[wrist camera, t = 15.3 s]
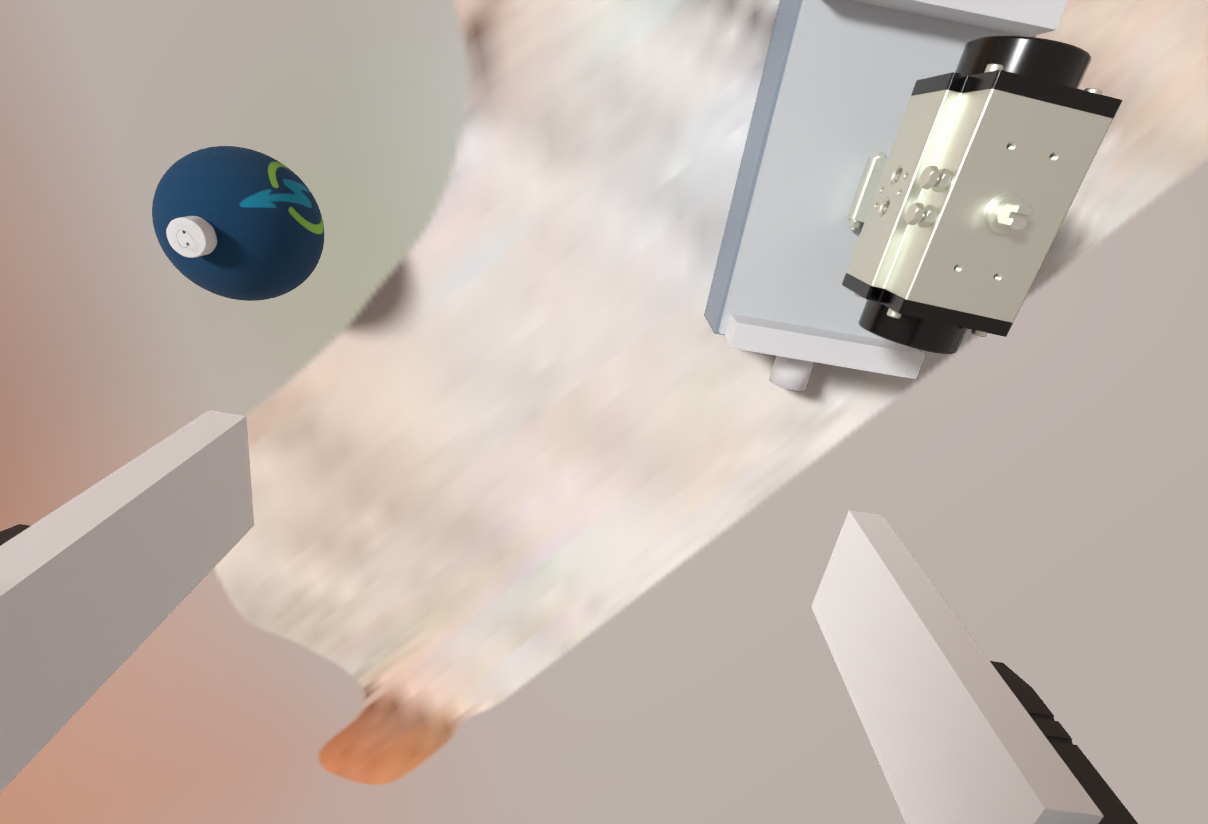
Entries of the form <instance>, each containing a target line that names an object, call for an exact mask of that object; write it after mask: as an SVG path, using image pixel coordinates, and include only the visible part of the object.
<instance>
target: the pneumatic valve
mask: <svg viewBox="0 0 1208 824" xmlns="http://www.w3.org/2000/svg"><path fill="white" fill-rule="evenodd" d="M1090 62H1091V56H1090V54H1089V53H1088V52H1086V51H1084V50H1083V49H1081V48H1078V47H1076V46H1073V45H1070V44H1066V43H1062V42H1058V41H1053V40H1048V39H1042V38H1034V37H1025V36H987V37H980V38H976V39H973V40H971V41H969V42H968V43H967V44H966V45H965V48H964V50H963V53H962V55H961V58H960V61H959V63H958V66H957V68H956V71H955V72H952V73H947V74H943V75H938V76H934V77H929V78H925V79H920V80H916V83H915V86H914V89H913V91H912V94H911V97H910V100H909V102H908V105H907V108H906V111H905V113H904V116H903V119H902V121H901V124H900V127H899V130H898V132H897V135H896V138H895V141H894V143H893V146H892V149H891V151H890V154H889V157H888V158H885V157H886V153H883V152H878V151H875V152H874V155H873V156H872V157H868V160H867V163H866V165H865V168H864V171H863V174H862V177H861V180H860V182H859V185H858V188H857V191H856V194H855V196H854V199H853V202H852V205H851V208H850V211H849V213H848V216H847V218H850V219H849V220H850V222H849V225H848V226H851V227H850V229H852V230H856V229H857V228H860V225H861V223H863V222H864V225H863V228H862V231H861V233H860V236H859V239H858V242H857V244H856V247H855V250H854V252H853V255H852V258H851V261H850V263H849V266H848V269H847V272H846V274H845V277H844V280H843V283H842V285H843V286H844V287H846V288H848V289H849V290H851V291H853V292H854V295H855V296H858V297H861V298H865V299H867V301H866V304H865V306H864V309H863V311H862V314H861V316H860V319H859V322H858V323H859V325H860V326H861V327H862V328H863V329H865V330H867V331H868V332H870V333H872V334H875V335H877V336H879V337H882V338H884V339H887V340H890V341H893V342H896V343H899V344H902V345H905V346H909V347H912V348H916V349H920V350H924V351H929V352H934V353H941V354H953V353H955V352H956V351H957V350H958V347H959V345H960V343H961V341H962V339H963V337H964V334H965V332H966V330H967V328H968V329H973V330H972V334H975V335H977V336H981V337H985V336H986V334H987V333H992V334H996V335H1000V336H1007V334H1008V332H1009V330H1010V328H1011V326H1012V324H1013V322H1014V319H1015V317H1016V316H1017V313H1018V311H1019V309H1020V307H1021V305H1022V303H1023V301H1024V299H1025V297H1026V295H1027V293H1028V291H1029V289H1030V287H1031V285H1032V283H1033V281H1034V279H1035V277H1036V275H1037V273H1038V271H1039V269H1040V267H1041V265H1042V263H1043V261H1044V259H1045V257H1046V255H1047V253H1048V250H1049V248H1050V246H1051V244H1052V242H1053V240H1054V238H1055V236H1056V234H1057V232H1058V230H1059V228H1060V226H1061V224H1062V222H1063V220H1064V218H1065V216H1066V214H1067V212H1068V210H1069V208H1070V206H1071V204H1072V202H1073V200H1074V198H1075V196H1076V194H1077V192H1078V189H1079V187H1080V185H1081V183H1082V181H1083V179H1084V177H1085V175H1086V173H1087V171H1088V169H1089V167H1090V165H1091V163H1092V161H1093V159H1094V157H1095V155H1096V153H1097V151H1098V149H1099V147H1100V145H1101V143H1102V141H1103V139H1104V137H1105V135H1106V133H1107V131H1108V128H1109V126H1110V124H1111V122H1112V120H1113V118H1114V116H1115V114H1116V112H1117V110H1118V108H1119V106H1120V104H1121V102H1122V100H1120V99H1116V98H1112V97H1108V96H1104V95H1101V93H1102V90H1099V89H1094V88H1087V89H1085V90H1080V89H1078V88H1079V86H1080V84H1081V82H1082V79H1083V77H1084V75H1085V73H1086V71H1087V69H1088V66H1089V64H1090ZM852 206H853V207H852Z"/></svg>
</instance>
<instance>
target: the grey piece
mask: <svg viewBox="0 0 1208 824" xmlns="http://www.w3.org/2000/svg"><path fill="white" fill-rule="evenodd" d="M1067 2H1068V0H780V4H779V8H778V12H777V16H776V20H775V25H774V29H773V33H772V37H771V41H770V45H769V49H768V54H767V58H766V62H765V66H764V70H763V74H762V78H761V83H760V87H759V91H758V95H757V99H756V103H755V107H754V112H753V116H752V120H751V124H750V128H749V132H748V136H747V141H746V145H745V149H744V153H743V157H742V161H741V165H740V169H739V174H738V178H737V182H736V186H735V190H734V194H733V198H732V203H731V207H730V211H729V215H728V219H727V223H726V227H725V232H724V236H723V240H722V244H721V248H720V252H719V256H718V261H717V265H716V269H715V273H714V277H713V281H712V285H711V290H710V294H709V298H708V302H707V306H706V310H705V314H704V316H705V317H706V319H707V321H708V323H709V325H710V326H711V328H712V330H713V332H714V334H720V335H725V336H724V338H725V340H726V342H727V343H728V345H729V347H730V348H734V349H740V350H746V351H752V352H758V353H763V354H769V355H775V356H776V358H775V362H774V365H773V368H772V372H771V375H770V378H769V380H770V381H771V382H772V383H773V384H775V385H777V386H779V387H782V388H785V389H789V390H795V391H803V390H805V389H806V386H807V383H808V380H809V377H810V374H811V371H812V368H813V365H814V362H817V363H822V364H828V365H834V366H840V367H846V368H852V369H858V370H864V371H870V372H876V373H882V374H887V375H893V376H899V377H905V378H911V379H916V378H917V375H918V373H919V371H920V368H921V366H922V363H923V361H924V358H925V356H926V355H925V354H924V353H922V352H921V351H919V350H918V349H916V348H912V347H909V346H905V345H902V344H899V343H896V342H893V341H890V340H887V339H884V338H882V337H879V336H877V335H875V334H872V333H870V332H868V331H867V330H865V329H863V328H862V327H861V326H860V325H859V323H858V322H859V319H860V316H861V314H862V311H863V309H864V306H865V304H866V301H867V299H865V298H861V297H858V296H855V295H854V292H853V291H851V290H849V289H848V288H846V287H844V286H843V285H842V283H843V280H844V277H845V274H846V272H847V269H848V266H849V263H850V261H851V258H852V255H853V252H854V250H855V247H856V244H857V242H858V239H859V236H860V233H861V231H862V228H863V225H864V222H863V223H861V225H860V228H857V229H856V230H852V229H850V227H851V226H848V225H849V222H850V220H849V219H850V218H847V216H848V213H849V211H850V208H851V205H852V202H853V199H854V196H855V194H856V191H857V188H858V185H859V182H860V180H861V177H862V174H863V171H864V168H865V165H866V163H867V160H868V157H872V156H873V155H874V152H875V151H878V152H883V153H886V157H885V158H888V157H889V154H890V151H891V149H892V146H893V143H894V141H895V138H896V135H897V132H898V130H899V127H900V124H901V121H902V119H903V116H904V113H905V111H906V108H907V105H908V102H909V100H910V97H911V94H912V91H913V89H914V86H915V83H916V80H920V79H925V78H929V77H934V76H938V75H943V74H947V73H952V72H955V71H956V68H957V66H958V63H959V61H960V58H961V55H962V53H963V50H964V48H965V45H966V44H967V43H968V42H969V41H971V40H973V39H976V38H980V37H987V36H1025V37H1034V38H1035V36H1036V35H1039V34H1042V33H1046V32H1050V31H1053V30H1056V29H1057V27H1058V24H1059V22H1060V19H1061V17H1062V14H1063V12H1064V9H1065V7H1066V4H1067ZM852 207H853V206H852Z"/></svg>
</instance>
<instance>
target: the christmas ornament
mask: <svg viewBox="0 0 1208 824" xmlns="http://www.w3.org/2000/svg"><path fill="white" fill-rule="evenodd" d="M152 217H153V224H154V229H155V233H156V236H157V238H158V241H159V243H160V245H161V247H162V249H163V251H164V253H165V254H166V256H167V257H168V258H169V260H170V261H171V262H172V263H173V265H174V266H175V267H176V268H177V269H178V270H179V271H180V272H181V273H182V274H183V275H184V276H186V277H187V278H188V279H189V280H191V281H192V282H194V283H195V284H197V285H198V286H200V287H202V288H204V289H206V290H208V291H210V292H212V293H215V294H217V295H220V296H224V297H227V298H232V299H237V300H249V301H251V300H264V299H270V298H274V297H277V296H280V295H283V294H285V293H287V292H289V291H291V290H293V289H294V288H296V287H298V286H299V285H300V284H301V283H303V282H304V281H305V280H306V279H307V278H308V277H309V275H310V274H311V273H312V272H313V270H314V269H315V267H316V265H317V264H318V261H319V259H320V256H321V253H322V250H323V244H324V226H323V220H322V216H321V213H320V210H319V207H318V205H317V203H316V201H315V199H314V197H313V195H312V193H311V192H310V191H309V189H308V188H307V186H306V185H305V184H304V183H303V182H302V180H301V179H300V178H299V177H298V176H297V175H295V174H294V172H292V171H291V170H290V169H289V168H287V167H286V166H285V165H283V164H282V163H280V162H278V161H277V160H275V159H273V158H271V157H269V156H267V155H265V154H263V153H260V152H257V151H254V150H250V149H246V148H240V147H233V146H218V147H210V148H205V149H201V150H198V151H196V152H192V153H190V154H188V155H186V156H185V157H183V158H182V159H180V160H178V161H177V162H176V163H174V164H173V165H172V166H171V167H170V168H169V169H168V170H167V172H166V173H165V174H164V175H163V177H162V179H161V180H160V182H159V184H158V186H157V189H156V192H155V195H154V199H153V207H152Z"/></svg>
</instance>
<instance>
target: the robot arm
mask: <svg viewBox="0 0 1208 824" xmlns="http://www.w3.org/2000/svg"><path fill="white" fill-rule="evenodd" d="M253 526H254V518H253V504H252V490H251V476H250V462H249V448H248V434H247V420H246V416H242V415H235V414H229V413H223V412H216V411H210V410H209V411H207V412H206V413H204V414H203V415H201V416H199V417H198V418H196V419H195V420H193V421H192V422H190V423H189V424H187V425H186V426H184V427H183V428H181V429H179V430H178V431H177V432H175V433H173V434H172V435H170V436H169V437H167V438H166V439H164V440H163V441H161V442H159V443H158V444H156V445H155V446H154V447H152V448H150V449H149V450H147V451H146V452H144V453H143V454H141V455H139V456H138V457H137V458H135V459H133V460H132V461H130V462H129V463H127V464H126V465H124V466H123V467H121V468H120V469H118V470H117V471H115V472H113V473H112V474H110V475H109V476H107V477H106V478H104V479H103V480H101V481H99V482H98V483H96V484H95V485H93V486H92V487H90V488H89V489H87V490H86V491H85V492H83V493H81V494H80V495H78V496H76V497H75V498H73V499H72V500H70V501H69V502H67V503H66V504H64V505H63V506H61V507H59V508H58V509H56V510H55V511H53V512H52V513H50V514H49V515H47V516H46V517H44V518H43V519H41V520H39V521H38V522H36V523H35V524H34V525H32V526H28V525H21V524H19V525H16V526H14V527H12V528H9V529H6V530H4V531H1V532H0V792H1V791H2V790H3V789H4V788H5V787H6V786H7V785H8V784H9V783H10V782H11V781H12V779H13V778H15V776H16V775H17V774H18V773H19V772H20V771H21V770H22V769H23V768H24V767H25V766H26V765H27V764H28V763H29V762H30V761H31V760H32V758H34V756H35V755H36V754H37V753H38V752H39V751H40V750H41V749H42V748H43V747H44V746H45V745H46V744H47V743H48V742H49V741H50V740H51V738H52V737H53V736H54V735H55V734H56V733H57V732H58V731H59V730H60V729H61V728H62V727H63V726H64V725H65V723H67V721H69V720H70V719H71V717H72V716H73V715H74V714H75V713H76V712H77V711H78V710H79V709H80V708H81V707H82V706H83V705H84V704H85V703H86V702H87V701H88V700H89V699H90V697H91V696H92V695H93V694H94V693H95V692H96V691H97V690H98V689H99V688H100V687H101V686H102V685H103V684H104V683H105V682H106V681H107V680H108V679H109V677H110V676H111V675H112V674H113V673H114V672H115V671H116V670H117V669H118V668H119V667H120V666H121V665H122V664H123V663H124V662H125V661H126V659H127V658H128V657H129V656H130V655H131V654H132V653H133V652H134V651H135V650H136V649H137V648H138V647H139V646H140V645H141V644H142V643H143V642H144V641H145V640H146V638H147V637H148V636H149V635H150V634H151V633H152V632H153V631H154V630H155V629H156V628H157V627H158V626H159V625H160V624H161V623H162V622H163V621H164V620H165V619H166V617H167V616H168V615H169V614H170V613H171V612H172V611H173V610H174V609H175V608H176V607H177V606H178V605H179V604H180V603H181V602H182V601H183V600H184V598H185V597H186V596H187V595H188V594H189V593H190V592H191V591H192V590H193V589H194V588H195V587H196V586H197V585H198V584H199V583H200V582H201V581H202V579H203V578H204V577H205V576H206V575H207V574H208V573H209V572H210V571H211V570H212V569H213V568H214V567H215V566H216V565H217V564H218V563H219V562H220V561H221V560H222V558H223V557H224V556H225V555H226V554H227V553H228V552H229V551H230V550H231V549H232V548H233V547H234V546H235V545H236V544H237V543H238V542H239V541H240V540H241V538H242V537H243V536H244V535H245V534H246V533H247V532H248V531H249V530H250V529H251V528H252V527H253ZM811 607H812V609H813V611H814V613H815V616H816V618H817V621H818V623H819V625H820V628H821V630H822V632H823V634H824V637H825V639H826V641H827V644H828V646H829V648H830V651H831V653H832V655H833V657H834V660H835V662H836V664H837V666H838V669H839V671H840V673H841V676H842V678H843V680H844V683H845V685H846V687H847V690H848V692H849V694H850V696H851V699H852V701H853V703H854V706H855V708H856V710H857V712H858V715H859V717H860V719H861V722H862V724H863V726H864V729H865V731H866V733H867V735H868V738H869V740H870V742H871V745H872V747H873V749H874V752H875V754H876V756H877V759H878V761H879V763H880V765H881V768H882V770H883V772H884V775H885V777H886V779H887V781H888V784H889V786H890V788H891V790H892V793H893V795H894V797H895V800H896V802H897V804H898V807H899V809H900V811H901V814H902V816H903V818H904V820H905V823H906V824H1138V823H1137V822H1136V820H1135V819H1134V818H1133V817H1132V815H1131V814H1130V813H1129V812H1128V810H1127V809H1126V808H1125V806H1124V805H1123V804H1122V803H1121V801H1120V800H1119V799H1118V798H1117V796H1116V795H1115V794H1114V792H1113V791H1112V790H1111V788H1110V787H1109V786H1108V785H1107V783H1106V782H1105V781H1104V780H1103V778H1102V777H1101V776H1100V774H1099V773H1098V772H1097V770H1096V769H1095V768H1094V767H1093V765H1092V764H1091V763H1090V761H1089V760H1088V759H1087V758H1086V756H1085V755H1084V754H1083V753H1082V751H1081V750H1080V749H1079V747H1078V746H1077V745H1073V744H1072V739H1071V737H1070V736H1069V735H1068V733H1067V732H1066V731H1065V729H1064V728H1063V727H1062V726H1061V724H1060V723H1059V722H1058V721H1054V715H1053V714H1052V713H1051V711H1050V710H1049V709H1048V708H1047V706H1046V705H1045V704H1044V703H1043V701H1042V700H1041V699H1040V697H1039V696H1038V695H1037V693H1036V692H1035V691H1034V690H1033V688H1032V687H1030V686H1029V685H1028V684H1027V683H1026V682H1025V681H1023V680H1022V679H1021V678H1020V677H1019V676H1018V675H1016V674H1015V673H1014V672H1013V671H1012V670H1010V669H1009V668H1008V667H1007V666H1006V665H1005V664H1004V663H999V662H993V661H989V660H988V658H987V657H986V655H985V654H984V653H983V651H982V650H981V649H980V647H979V646H978V645H977V643H976V642H975V641H974V639H973V638H972V636H971V635H970V634H969V632H968V631H967V630H966V628H965V627H964V626H963V624H962V623H961V622H960V620H959V619H958V617H957V616H956V615H955V613H954V612H953V611H952V609H951V608H950V607H949V605H948V604H947V603H946V601H945V600H944V598H943V597H942V596H941V595H940V593H939V592H938V590H937V589H936V588H935V586H934V585H933V584H932V582H931V581H930V579H929V578H928V577H927V575H926V574H925V573H924V571H923V570H922V569H921V567H920V566H919V565H918V563H917V562H916V560H915V559H914V558H913V556H912V555H911V554H910V552H909V551H908V550H907V548H906V547H905V546H904V544H903V543H902V541H901V540H900V539H899V537H898V536H897V535H896V533H895V532H894V531H893V529H892V528H891V527H890V525H889V524H888V522H887V521H886V520H885V518H884V517H883V516H882V515H877V514H871V513H865V512H858V511H851V510H849V511H848V514H847V517H846V519H845V522H844V524H843V527H842V530H841V532H840V534H839V537H838V540H837V542H836V545H835V547H834V550H833V552H832V555H831V558H830V560H829V563H828V565H827V568H826V571H825V573H824V576H823V578H822V581H821V583H820V586H819V588H818V591H817V594H816V596H815V599H814V601H813V604H812V606H811Z"/></svg>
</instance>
